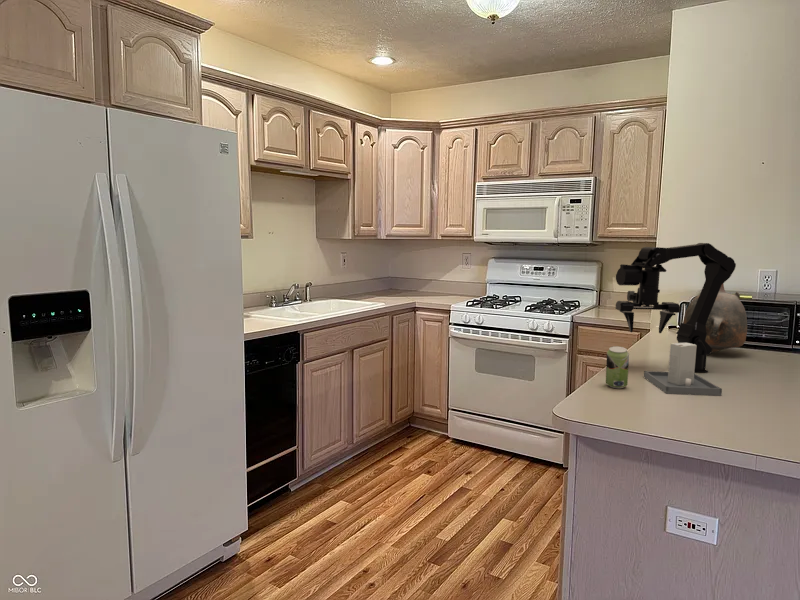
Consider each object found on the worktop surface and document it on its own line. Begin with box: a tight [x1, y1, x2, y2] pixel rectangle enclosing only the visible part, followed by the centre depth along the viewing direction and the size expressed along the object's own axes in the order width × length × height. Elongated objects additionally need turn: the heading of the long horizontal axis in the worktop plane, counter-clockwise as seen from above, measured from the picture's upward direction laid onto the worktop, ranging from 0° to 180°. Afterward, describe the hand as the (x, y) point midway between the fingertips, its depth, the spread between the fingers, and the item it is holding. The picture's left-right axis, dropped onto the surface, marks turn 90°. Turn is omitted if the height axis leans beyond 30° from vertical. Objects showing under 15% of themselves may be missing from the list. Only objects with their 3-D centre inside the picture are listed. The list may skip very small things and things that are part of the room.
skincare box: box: [667, 342, 697, 385], centre depth 161 cm, size 6×4×12 cm
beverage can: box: [605, 346, 630, 389], centre depth 159 cm, size 6×7×12 cm
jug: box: [682, 283, 748, 354], centre depth 208 cm, size 24×21×30 cm
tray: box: [643, 370, 723, 397], centre depth 162 cm, size 15×18×4 cm
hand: (645, 332), depth 177 cm, fingers open, 9 cm apart
